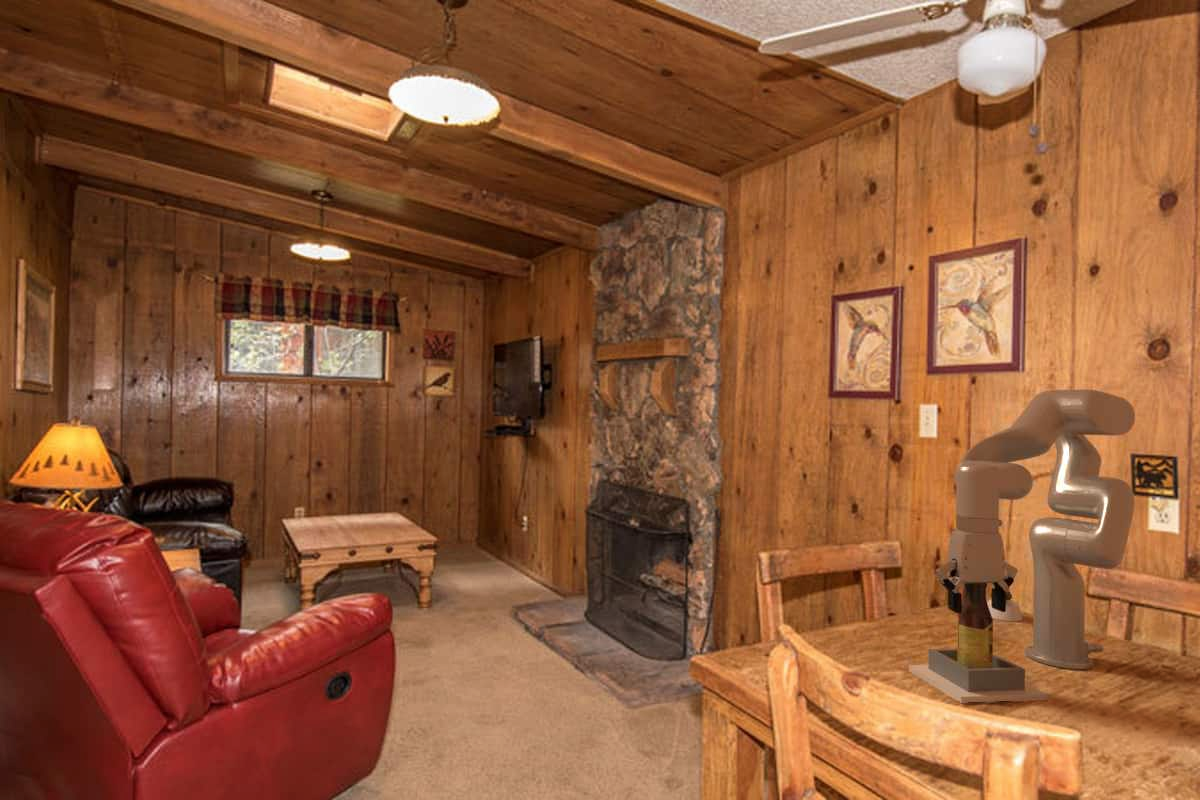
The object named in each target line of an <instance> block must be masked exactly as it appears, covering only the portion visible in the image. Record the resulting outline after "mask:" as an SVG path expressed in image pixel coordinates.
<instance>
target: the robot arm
mask: <svg viewBox="0 0 1200 800" xmlns="http://www.w3.org/2000/svg"><path fill="white" fill-rule="evenodd" d="M1135 422H1136V414H1135V409H1134V407H1133V405H1132V404H1131V403H1130V402H1129V401H1128V400H1127V399H1126V398H1125V397H1121V396H1117V395H1114V394H1111V393H1109V392H1103V391H1101V390H1100V391H1099V390H1097V389H1096V390H1095V389H1053V390H1052V389H1051V390H1044V391H1042V392H1038V394H1036V395H1035V396H1034V397H1033V398H1032V399H1031V401H1030V402H1029V403H1028V404H1027V406H1026V407H1025V408H1024V410H1023V411H1022V412H1021V414H1020V415H1019V416H1018V418H1017V419H1016V420H1015V421H1014V423H1013V424H1012V425H1011V426H1010V427H1007V428H1005V429H1003V430H1001V431H999V432H997V433H994V434H992V435H989V436H987V437H986V438H984V439H981V440H980V441H978V442H976V443H975V444H974V445H972V446H971V447H970V448H969V449H968V450H967V452H965V454H964V455H963V456H962V458H960V460H959V462H958V464H957V466H956V467H955V471H954V475H953V476H954V477H953V480H954V485H955V486H956V488H955V493H956V494H955V496H956V497H955V500H956V502H955V513H956V514H955V530H952V531H951V533H950V534H951V535H950V538H949V543H948V550H947V559H946V560H947V561H946V563H944V564H943V565H941V566H939V567H937V568H936V570H935V573H936V575H937V577H938V579H939V582H940V583H941V584H942V585H943V587H944V589H945V590H947V607H948V608H947V609H948V610H950V611H951V612H954V613H956V614H958V613H961V612H962V604H963V595H962V593H961V592H960V591H961V589H962V588H963V587H965V585H964V584H965V583H970V584H971V583H987V584H992V586H993V587H992V588H991V592H992V597H991V598H990V599H991V606H992V608H994V609H996V610H999V611H1001V612H1005V611H1006V592H1008V591H1009V592H1010V587H1011V586H1012V585H1013V583H1014V582H1015V578H1016V576H1017V574H1018V572H1019V571H1018V568H1016V567H1015V566H1013V565H1011V564H1010V563H1008V562H1006V555H1005V547H1004V542H1003V541H1004V540H1003V537H1002V533H1000V529H999V528H1000V527H1001V526H1003V521H1002V520H1001V519H1000V518H999V517H1000V506H999V505H1000V503H999V502H1000V501H999V500H1000V499H1001V500H1010V501H1014V500H1015V501H1017V500H1021V499H1023V498H1025V497H1026V496H1028V494H1030V492H1031V491H1032V489H1033V486H1034V479H1033V476H1032V473H1031V472H1030V471H1029V469H1027V467H1025V466H1023V465H1021V464H1017V463H1013V462H1019V461H1023V460H1029V459H1033V458H1036V457H1040V456H1042V455H1045V454H1046V453H1048V452H1049V451H1050V450H1051V448H1052V447H1053V446H1055V449H1056V458H1055V464H1054V469H1053V471H1052V476H1051V479H1050V480H1051V481H1050V484H1049V487H1048V491H1047V505H1048V507H1049V509H1051V511H1053V512H1055V513H1057V514H1060V515H1064V516H1070V517H1077V518H1085V519H1091V520H1098V522H1093V521H1092V522H1090V521H1086V520H1085V521H1084V520H1078V519H1070V518H1063V517H1062V518H1061V517H1054V516H1053V517H1052V516H1051V517H1050V516H1049V517H1048V516H1047V517H1041V518H1038V519H1037V520H1035V521H1034V522H1033V523H1032V524H1031V526H1030V528H1029V531H1028V532H1029V533H1028V540H1029V545H1030V550H1031V556H1032V562H1033V563H1032V564H1033V615H1032V616H1033V618H1032V621H1033V625H1032V627H1033V628H1032V631H1033V632H1032V633H1033V634H1032V645H1029V646H1026V647H1025V648H1024V654H1025V656H1027V657H1028V658H1029V659H1031V660H1034V661H1035V662H1039V663H1041V664H1044V665H1048V666H1052V667H1058V668H1064V669H1070V670H1088V669H1090V668H1092V667H1093V666H1094V661H1093V659H1092V658H1091V657H1090V656H1089V654H1091V653H1102V652H1103V651H1104V648H1103V645H1102V644H1101V643H1098V642H1097V643H1093V642H1092V643H1089V642H1088V641H1086V640H1085V615H1086V613H1085V608H1086V607H1085V605H1086V604H1085V603H1086V602H1085V601H1086V599H1085V597H1086V595H1085V594H1086V585H1085V582H1084V578H1083V576H1082V574H1081V573H1080V570H1079V569H1078V568H1077V566H1076V565H1081V566H1087V567H1092V568H1097V569H1104V570H1111V569H1115V568H1117V567H1118V566H1119V565H1120V564H1121V563H1122V561H1123V559H1124V556H1125V551H1126V548H1127V543H1128V539H1129V534H1130V530H1131V525H1132V520H1133V516H1134V510H1135V494H1134V491H1133V488H1132V486H1131V485H1130V484H1129V483H1128V482H1126V481H1125V480H1123V479H1120V478H1115V477H1111V476H1110V477H1109V476H1108V477H1107V476H1100V471H1101V466H1102V457H1101V455H1100V452H1099V451H1098V449H1097V448H1096V446H1094V444H1093V443H1092V442H1091V441H1090V440H1089V439H1088V438H1087V437H1086V436H1111V437H1113V436H1116V437H1117V436H1124V435H1125V434H1128V433H1129V432H1130V431H1131V430H1132V429H1133V426H1134V425H1135ZM1054 444H1055V445H1054ZM1087 668H1088V669H1087Z"/></svg>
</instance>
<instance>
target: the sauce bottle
mask: <svg viewBox="0 0 1200 800" xmlns="http://www.w3.org/2000/svg"><path fill="white" fill-rule="evenodd" d="M987 587H988V583H971V584H970V583H965V584H964V601H962V612H961V613H957V614H958V615H957V618H958V619H957V621H958V622H957V637H956V639H957V648H956V649H957V662H958V663H960V664H962V665H964V666H966V667H967V668H969V669H978V668H993V654H994V653H993V652H994V620H993V618H992V616H991V613H990V610H989V607H988V604H987V602H988V601H987Z"/></svg>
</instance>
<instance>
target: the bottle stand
mask: <svg viewBox="0 0 1200 800" xmlns="http://www.w3.org/2000/svg"><path fill="white" fill-rule="evenodd" d="M927 662H928V664H917V665H916V664H914V665H913V664H912V665H910V664H909V665H908V668H909V669H908V672H910V673H912V674H913V675H914V676H917V677H918V678H919V679H921V680H923V681H924V682H926V683H927V684H929V685H930V686H932V687H934V688H936V689H937V690H939V691H940V692H942V693H943V694H945V695H947V696H949V697H950V698H951V697H952V698H951V699H953V700H955V701H956V700H957V701H956V702H958V701H960V702H959V703H960V704H962V703H961V702H986V703H996V702H995V701H998V702H997V703H1000V702H999V701H1011V702H1012V701H1013V702H1032V701H1034V702H1035V701H1036V702H1037V701H1038V702H1039V701H1048V693H1046V692H1044V691H1042V690H1040V689H1038V688H1036V687H1035V686H1032V685H1030V684H1028V683H1026V669H1025V668H1023V667H1022V666H1019V665H1018V664H1015V663H1013V662H1011V661H1010V660H1007V659H1004V658H1003V657H1001V656H999V655H996V654H994V653H993V668H978V669H969V668H967V667H966V666H964V665H962V664H960V663H958V662H957V648H929V649H928V661H927Z"/></svg>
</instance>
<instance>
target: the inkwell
mask: <svg viewBox="0 0 1200 800" xmlns="http://www.w3.org/2000/svg"><path fill="white" fill-rule="evenodd" d="M989 596H990V599H988V600H987V601H986V602H987V604H988V607H989V610H990V613H991V616H992V619H994V620H996V621H1001V622H1002V621H1003V622H1008V623H1009V622H1010V623H1013V622H1014V623H1015V622H1017V623H1018V622H1021V621H1023V620H1024V618H1023V615H1022V612H1021V608H1020V605H1019V603H1017V602H1015V601H1014V600H1013V595H1012V594H1011V592H1010V590H1009V591H1008V592H1006V611H1005V612H1001V611H999V610H996V609H994V608H992V606H991V599H992V591H991V592H990V594H989Z"/></svg>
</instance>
